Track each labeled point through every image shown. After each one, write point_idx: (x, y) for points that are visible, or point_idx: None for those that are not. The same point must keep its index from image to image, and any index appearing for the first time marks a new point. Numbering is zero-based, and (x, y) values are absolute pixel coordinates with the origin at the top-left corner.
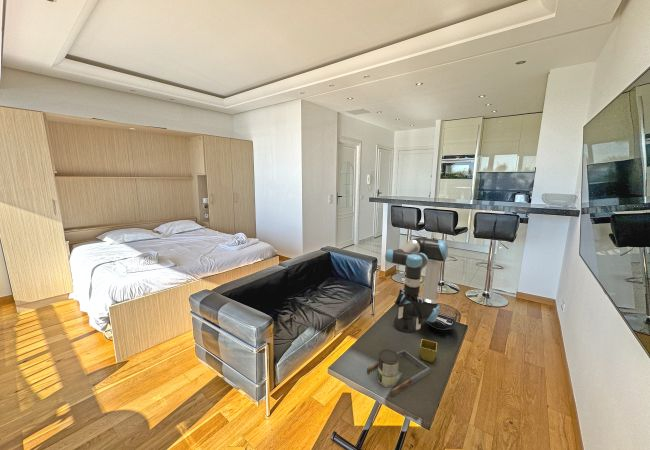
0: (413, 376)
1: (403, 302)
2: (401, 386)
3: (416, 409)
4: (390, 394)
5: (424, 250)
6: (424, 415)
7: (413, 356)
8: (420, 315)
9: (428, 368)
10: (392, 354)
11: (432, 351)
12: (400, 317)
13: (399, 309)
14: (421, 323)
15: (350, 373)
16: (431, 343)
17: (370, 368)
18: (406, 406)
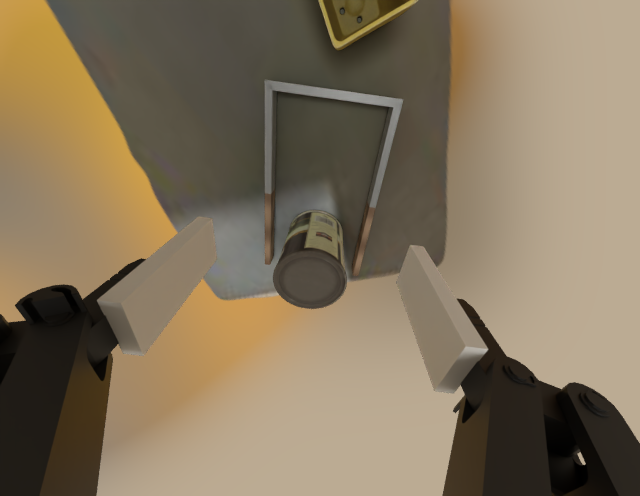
0: (373, 191)
1: (85, 493)
2: (365, 246)
3: None
4: (352, 267)
5: None
6: (436, 254)
7: (320, 88)
8: (486, 382)
9: (398, 106)
10: (312, 267)
11: (399, 13)
12: (211, 249)
13: (154, 333)
14: (464, 307)
15: (248, 282)
16: None
17: (270, 257)
18: (394, 263)
